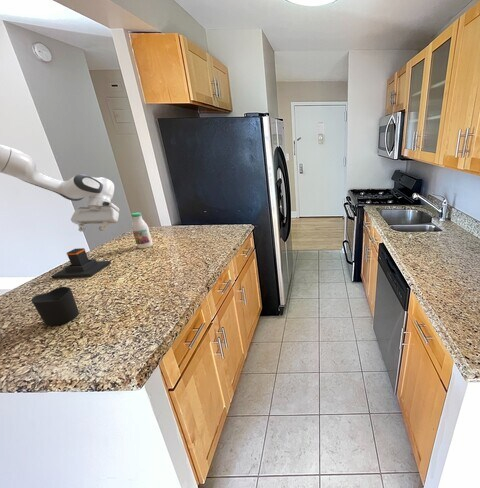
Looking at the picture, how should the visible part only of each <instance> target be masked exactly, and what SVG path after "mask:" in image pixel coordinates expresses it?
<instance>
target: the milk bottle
mask: <svg viewBox="0 0 480 488" xmlns="http://www.w3.org/2000/svg"><path fill="white" fill-rule="evenodd" d="M130 215H131V218H132V224H131V230H132V234H133V237H134V241H135V245H136V247H137V249H147V248H148V249H149V248H150V247H152V246H153V245H154V243H153V240H152V236H151V232H150V229H149V226H148V224H147V222H146V221H145V220H144V219H143V215H142V212H132V213H131V214H130Z"/></svg>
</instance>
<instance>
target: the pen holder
mask: <svg viewBox="0 0 480 488" xmlns="http://www.w3.org/2000/svg"><path fill="white" fill-rule="evenodd" d="M31 302H32V304H33V307H35V309H36V311H37V313H38V314H39V316H40V318H41V320H42V322H43V324H45V325H46V326H49V327H57V326H61V325H64V324H67V323H69V322H71V321H73V320H74V319H76V318H77V317H78V316H79V314H80V311H79V307H78V305H77V302H76V299H75V296H74V293H73V291H72V289H71V287H69V286H59V287H56V288H54V289H51V290H50V291H48V292H45V293H40V294H36V295H34V296H33V297H32V298H31Z"/></svg>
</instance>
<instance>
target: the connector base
mask: <svg viewBox="0 0 480 488" xmlns="http://www.w3.org/2000/svg"><path fill="white" fill-rule="evenodd" d="M88 259H89V262H88V263H86V264H85V265H83V266H75V267H72V265H71V263H70V264H68V265H67V266H65V267H64V268H63V269H60V270H59V271H57V272H55V273H53V274H52V275H51V278H52V279H54V280H55V279H73V278H76V279H77V278H91V277H93V276H94V275H96V274H97V273H99V272H101V271H102V270H103V269H105V268H106V267H108V266H110V265H111V264H112V262H111V260H99V261H98V260H97V259H96V258H88Z"/></svg>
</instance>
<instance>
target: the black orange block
mask: <svg viewBox="0 0 480 488" xmlns="http://www.w3.org/2000/svg"><path fill="white" fill-rule="evenodd" d="M66 256H67V258H68V259H69V262H70V264H71V265H72V267H75V266H83V265H85V264H86V263H88V262H89V259H90V258H89V257H88V255H87V252H86V249H85V248H83V247H82V248H81V247H80V248H79V247H77V248H73V249H71V250H70V251H67V252H66Z"/></svg>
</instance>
